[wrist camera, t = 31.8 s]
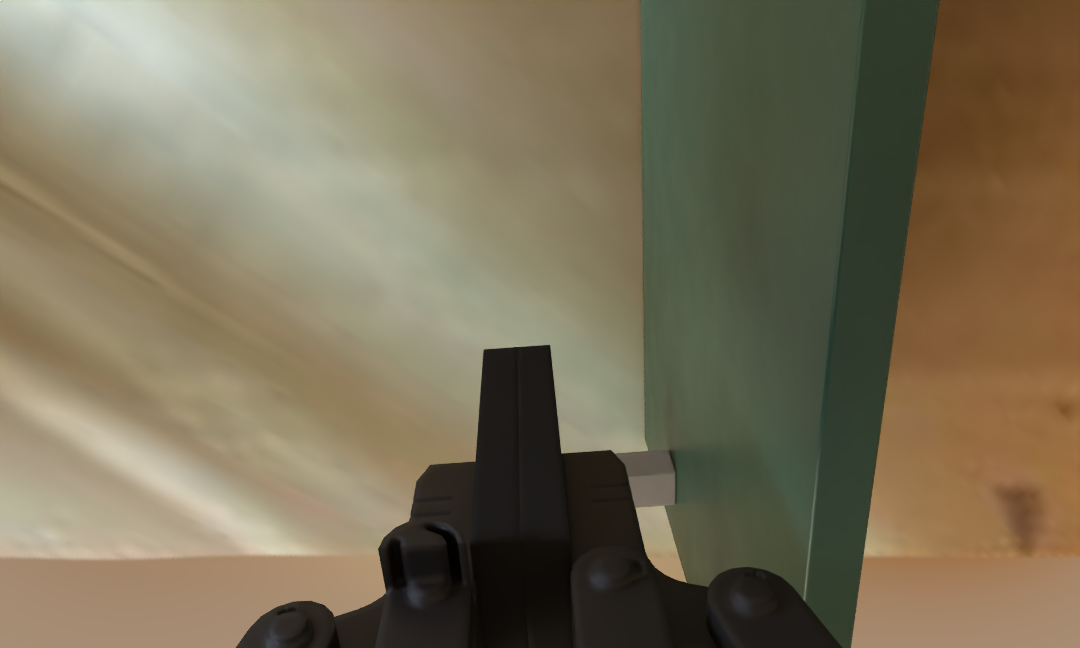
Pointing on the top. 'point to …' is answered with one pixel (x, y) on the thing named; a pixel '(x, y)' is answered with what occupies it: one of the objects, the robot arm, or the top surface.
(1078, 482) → the top surface
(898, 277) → the green cabinet door
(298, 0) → the top surface
